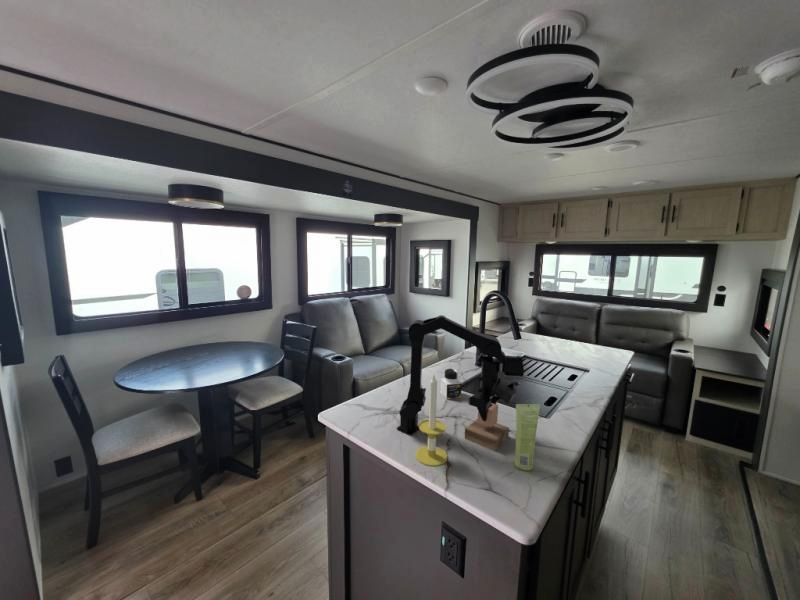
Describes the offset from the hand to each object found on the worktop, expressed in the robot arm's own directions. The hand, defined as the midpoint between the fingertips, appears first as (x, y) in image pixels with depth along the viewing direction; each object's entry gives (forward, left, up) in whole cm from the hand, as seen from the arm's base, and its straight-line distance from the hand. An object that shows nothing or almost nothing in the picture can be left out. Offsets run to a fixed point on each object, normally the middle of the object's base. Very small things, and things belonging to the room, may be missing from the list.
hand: (487, 417), depth 109 cm
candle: (-21, +9, -8) cm, 24 cm away
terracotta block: (0, 0, -2) cm, 2 cm away
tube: (-7, -15, -8) cm, 18 cm away
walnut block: (0, 0, -8) cm, 8 cm away
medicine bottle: (+22, +27, -8) cm, 36 cm away
